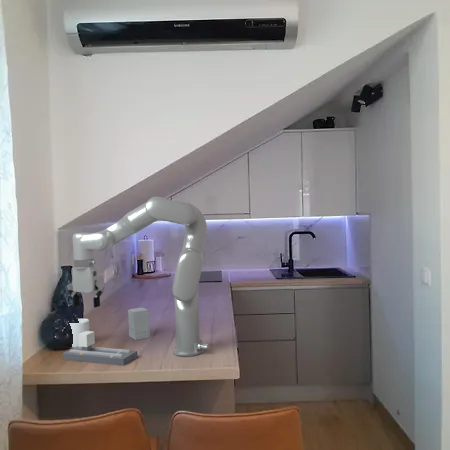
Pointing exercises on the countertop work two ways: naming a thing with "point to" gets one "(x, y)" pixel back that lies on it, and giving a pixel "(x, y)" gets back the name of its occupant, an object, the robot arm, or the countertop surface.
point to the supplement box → (138, 323)
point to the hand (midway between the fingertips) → (86, 306)
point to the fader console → (101, 355)
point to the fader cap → (86, 340)
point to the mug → (78, 330)
